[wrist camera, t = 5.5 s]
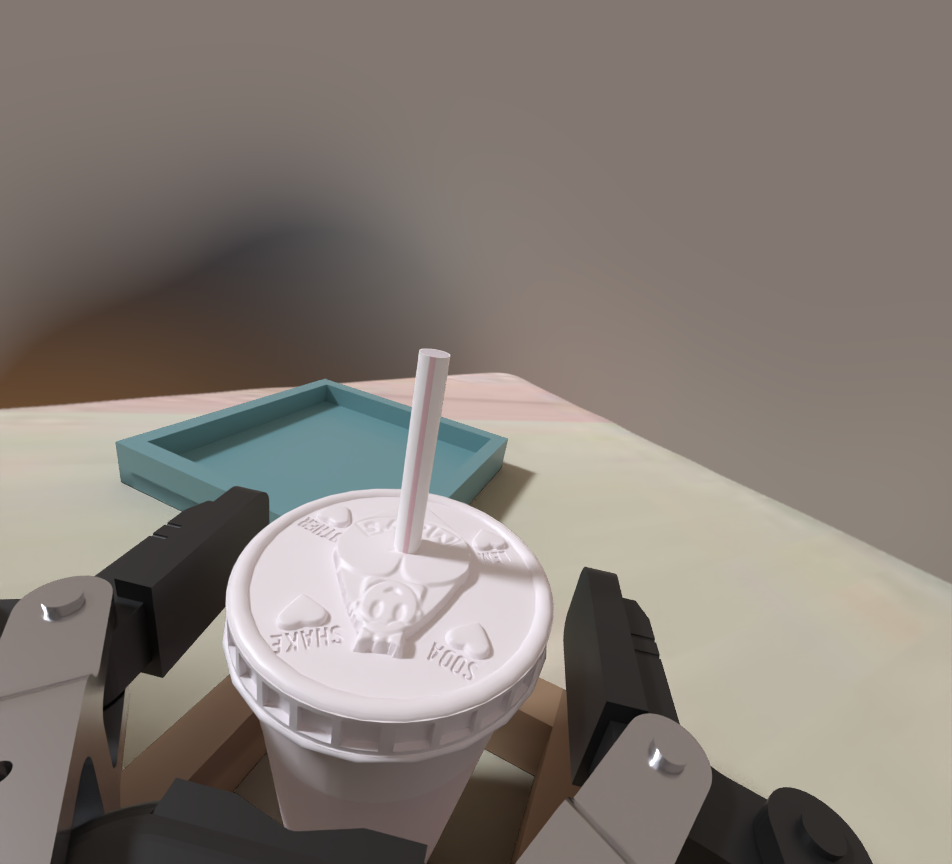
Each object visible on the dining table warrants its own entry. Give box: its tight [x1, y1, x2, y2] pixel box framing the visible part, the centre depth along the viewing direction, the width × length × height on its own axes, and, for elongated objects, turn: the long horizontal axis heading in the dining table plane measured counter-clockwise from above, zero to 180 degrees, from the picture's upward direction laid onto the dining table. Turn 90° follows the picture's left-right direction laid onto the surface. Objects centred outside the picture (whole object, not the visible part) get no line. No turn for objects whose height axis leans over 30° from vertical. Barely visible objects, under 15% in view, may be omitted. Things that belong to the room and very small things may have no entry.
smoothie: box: [222, 349, 553, 864], centre depth 10 cm, size 6×6×14 cm
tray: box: [116, 379, 508, 524], centre depth 30 cm, size 17×17×2 cm
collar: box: [120, 674, 581, 864], centre depth 13 cm, size 11×11×2 cm
